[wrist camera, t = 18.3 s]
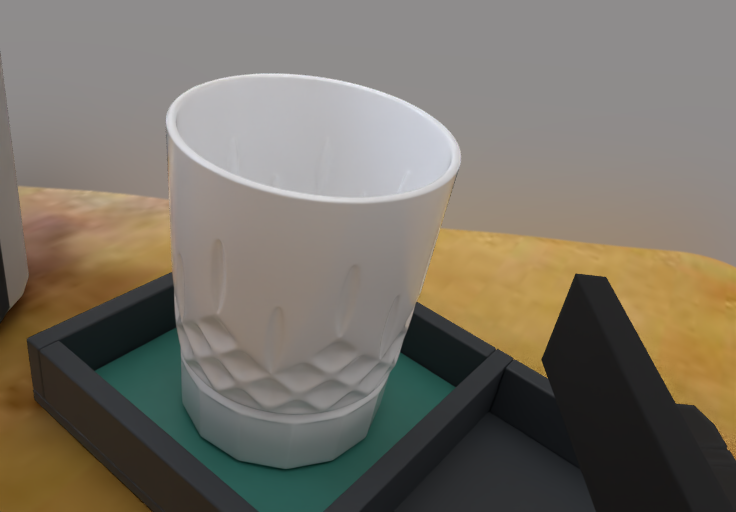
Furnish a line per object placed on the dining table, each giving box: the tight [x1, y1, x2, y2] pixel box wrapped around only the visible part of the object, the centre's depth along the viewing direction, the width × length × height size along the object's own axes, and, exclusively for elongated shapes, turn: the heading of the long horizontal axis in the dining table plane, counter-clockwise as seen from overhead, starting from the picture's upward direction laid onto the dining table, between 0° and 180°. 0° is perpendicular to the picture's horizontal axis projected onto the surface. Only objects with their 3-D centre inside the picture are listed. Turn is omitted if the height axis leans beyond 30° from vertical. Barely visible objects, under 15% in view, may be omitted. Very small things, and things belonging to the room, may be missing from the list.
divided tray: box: [27, 272, 596, 512], centre depth 22 cm, size 22×11×3 cm, turn 52°
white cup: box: [166, 73, 461, 469], centre depth 22 cm, size 8×8×10 cm
